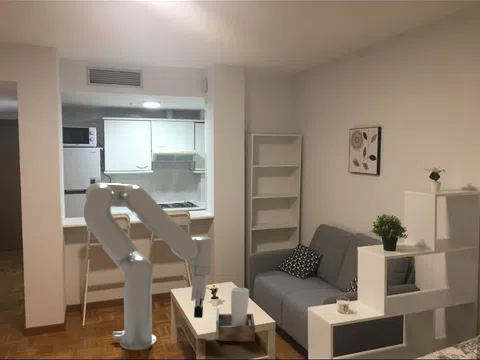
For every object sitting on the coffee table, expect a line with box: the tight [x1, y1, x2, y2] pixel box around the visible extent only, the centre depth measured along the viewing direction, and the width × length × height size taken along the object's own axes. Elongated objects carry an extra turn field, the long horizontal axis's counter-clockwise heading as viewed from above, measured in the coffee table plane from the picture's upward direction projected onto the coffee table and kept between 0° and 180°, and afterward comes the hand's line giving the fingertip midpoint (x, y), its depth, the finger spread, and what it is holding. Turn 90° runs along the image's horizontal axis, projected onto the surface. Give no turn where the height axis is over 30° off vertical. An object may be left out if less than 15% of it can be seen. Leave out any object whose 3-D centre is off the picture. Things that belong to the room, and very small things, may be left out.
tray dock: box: [217, 313, 256, 343], centre depth 154 cm, size 14×12×6 cm
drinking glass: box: [230, 287, 250, 326], centre depth 154 cm, size 7×7×15 cm
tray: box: [215, 308, 251, 340], centre depth 154 cm, size 13×12×7 cm
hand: (198, 316), depth 153 cm, fingers closed
